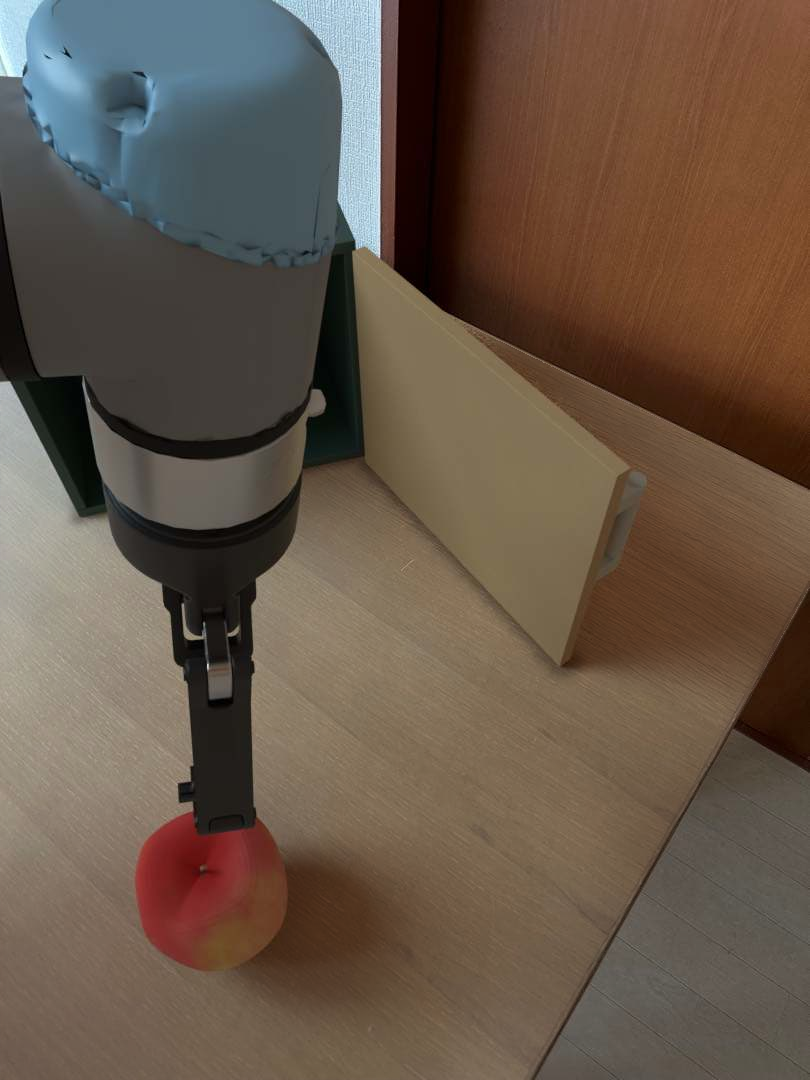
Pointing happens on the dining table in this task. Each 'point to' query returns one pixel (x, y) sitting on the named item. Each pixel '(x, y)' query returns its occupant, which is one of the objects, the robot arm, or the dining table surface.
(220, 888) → the apple
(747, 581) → the dining table surface
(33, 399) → the cupboard
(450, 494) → the cupboard door
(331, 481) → the dining table surface
